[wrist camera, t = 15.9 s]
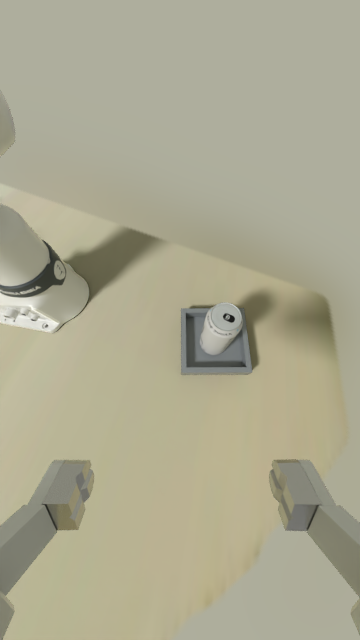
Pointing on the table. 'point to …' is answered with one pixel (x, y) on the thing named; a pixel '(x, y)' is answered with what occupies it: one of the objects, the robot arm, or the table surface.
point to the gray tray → (202, 363)
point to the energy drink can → (220, 328)
